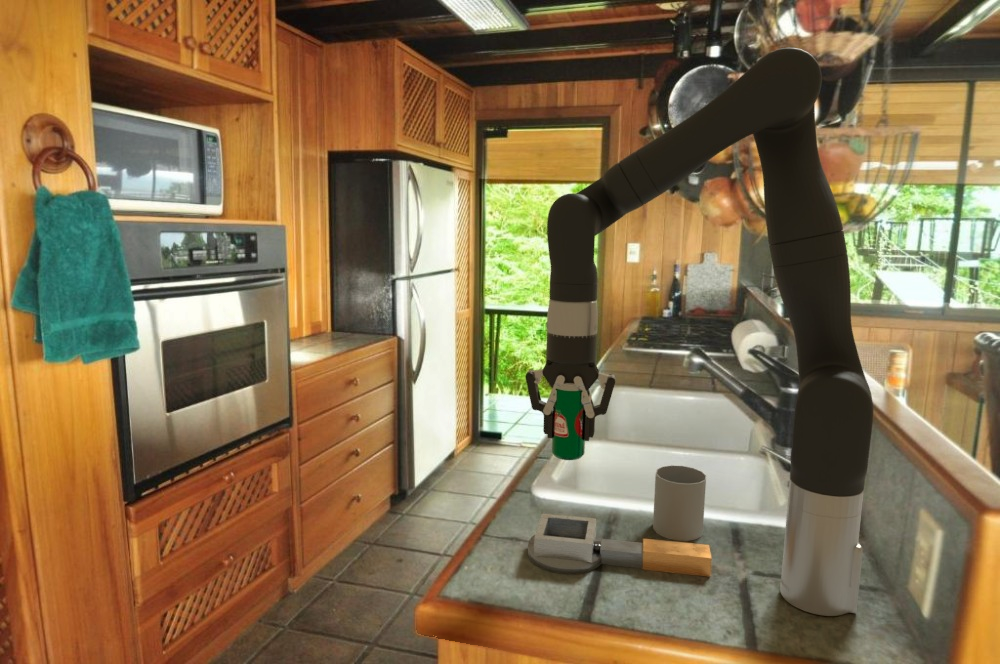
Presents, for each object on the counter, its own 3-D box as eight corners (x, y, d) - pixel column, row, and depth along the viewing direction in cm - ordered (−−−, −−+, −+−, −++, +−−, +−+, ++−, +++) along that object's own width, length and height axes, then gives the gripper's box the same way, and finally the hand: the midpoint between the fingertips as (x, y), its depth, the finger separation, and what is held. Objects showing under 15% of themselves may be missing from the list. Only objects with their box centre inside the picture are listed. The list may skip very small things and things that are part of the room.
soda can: (545, 452, 107) (547, 378, 105) (574, 448, 109) (576, 375, 107) (561, 463, 102) (563, 385, 100) (590, 458, 104) (593, 382, 102)
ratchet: (705, 550, 110) (707, 524, 109) (713, 590, 98) (715, 561, 98) (534, 533, 116) (534, 508, 115) (522, 569, 104) (522, 541, 103)
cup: (701, 544, 112) (705, 486, 111) (650, 536, 115) (653, 480, 113) (703, 522, 120) (707, 468, 119) (656, 515, 123) (658, 462, 121)
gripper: (621, 327, 104) (616, 434, 107) (528, 323, 107) (526, 427, 110) (619, 336, 97) (614, 450, 100) (520, 331, 100) (518, 442, 103)
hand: (568, 437), depth 105 cm, fingers closed on soda can, 5 cm apart
